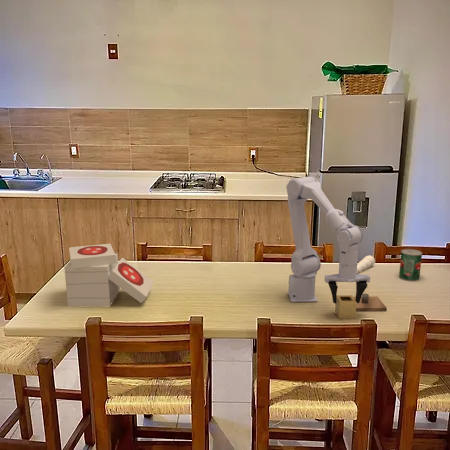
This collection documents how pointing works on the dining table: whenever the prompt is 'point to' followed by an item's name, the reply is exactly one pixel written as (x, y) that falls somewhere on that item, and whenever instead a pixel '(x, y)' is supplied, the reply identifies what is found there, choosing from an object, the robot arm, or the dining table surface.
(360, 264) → the unicorn horn
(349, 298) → the brass collar
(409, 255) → the canned tomato
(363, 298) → the post stand
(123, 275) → the pizza boxes
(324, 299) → the dining table surface
